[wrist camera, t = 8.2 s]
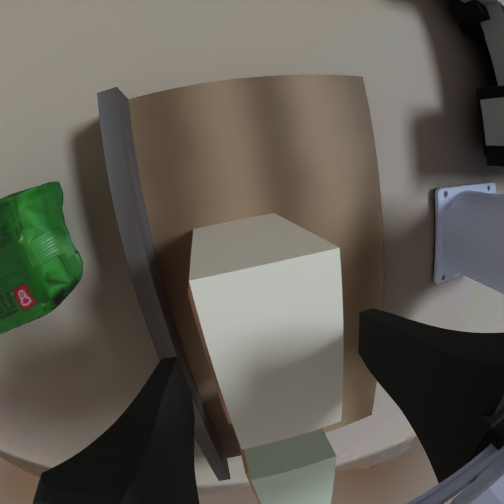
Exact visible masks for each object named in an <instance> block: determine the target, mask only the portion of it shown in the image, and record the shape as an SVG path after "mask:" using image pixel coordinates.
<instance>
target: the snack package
mask: <svg viewBox="0 0 504 504" xmlns="http://www.w3.org/2000/svg"><path fill="white" fill-rule="evenodd" d="M62 205H63V192H62V189H61V186H60V183H59V182H49V183H46V184H43V185H40V186H37V187H33V188H30V189H26V190H23V191H20V192H17V193H14V194H11V195H9V196H6V197H4V198H2V199H0V334H1V333H4V332H7V331H9V330H11V329H13V328H16V327H18V326H21V325H23V324H25V323H28V322H31V321H33V320H35V319H37V318H40V317H42V316H44V315H46V314H48V313H49V312H51V311H52V310H53V309H55V308H56V307H57V306H59V304H60V303H61V302H62V301H63V300H64V299H65V298H66V297H67V296H68V295H69V293H70V292H71V291H72V290H73V289H74V288H75V287H76V285H77V284H78V283H79V281H80V280H81V277H82V272H83V262H82V259H81V256H80V254H79V252H78V251H77V250H76V248H75V247H74V245H73V243H72V241H71V239H70V235H69V232H68V229H67V227H66V225H65V221H64V215H63V211H62Z"/></svg>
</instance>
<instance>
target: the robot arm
mask: <svg viewBox="0 0 504 504" xmlns="http://www.w3.org/2000/svg"><path fill="white" fill-rule="evenodd" d="M435 216H436V237H435V265H434V283H436V284H441V283H444V282H446V281H448V280H451V279H453V278H456V277H458V276H460V275H465V276H467V277H469V278H471V279H473V280H475V281H478V282H480V283H482V284H484V285H486V286H488V287H490V288H492V289H494V290H496V291H498V292H500V293H502V294H504V194H498V193H496V186H495V183H494V182H486V183H477V184H468V185H459V186H451V187H442V188H437V189H436V191H435ZM358 353H359V355H360V357H361V358H362V360H363V362H364V363H365V365H366V367H367V368H368V370H369V371H370V373H371V374H372V375H373V376H374V377H375V379H376V380H377V381H378V382H379V383H380V385H381V386H382V387H383V388H384V389H385V391H386V392H387V393H388V394H389V395H390V397H391V398H392V399H393V400H394V401H395V403H396V404H397V405H398V406H399V408H400V409H401V410H402V412H403V413H404V415H405V416H406V418H407V420H408V421H409V423H410V424H411V426H412V428H413V429H414V431H415V433H416V435H417V437H418V438H419V440H420V442H421V444H422V446H423V448H424V450H425V452H426V454H427V456H428V458H429V460H430V462H431V465H432V467H433V470H434V472H435V475H436V477H437V480H438V482H439V484H438V485H436V486H435V487H433V488H432V489H430V490H428V491H427V492H425V493H424V494H422V495H420V496H418V497H417V498H415V499H414V500H412V501H410V502H408V503H406V504H444V503H445V502H446V501H448V500H449V499H451V498H452V497H454V496H455V495H456V494H458V493H459V492H460V491H462V490H463V489H464V488H465V489H464V490H463V491H462V492H461V493H460V494H458V495H457V496H456V497H455V498H454V499H453V500H452V502H451V503H450V504H504V333H471V332H461V331H454V330H448V329H443V328H438V327H434V326H430V325H426V324H423V323H419V322H416V321H412V320H409V319H406V318H403V317H400V316H397V315H394V314H391V313H388V312H384V311H381V310H377V309H373V308H371V309H368V310H365V311H362V312H359V345H358ZM194 426H195V416H194V407H193V398H192V393H191V391H190V388H189V386H188V383H187V381H186V378H185V376H184V373H183V370H182V368H181V365H180V362H179V359H178V357H177V356H176V357H170V358H164V359H162V360H161V361H160V362H159V364H158V365H157V367H156V368H155V370H154V371H153V373H152V375H151V376H150V378H149V379H148V381H147V382H146V384H145V385H144V387H143V388H142V389H141V391H140V392H139V394H138V395H137V397H136V398H135V399H134V400H133V402H132V403H131V404H130V406H129V407H128V408H127V409H126V411H125V412H124V413H123V414H122V415H121V416H120V417H119V419H118V420H117V421H116V422H115V423H114V424H113V425H112V426H111V427H110V428H109V429H108V430H107V431H106V432H104V433H103V434H102V435H101V436H100V437H99V438H97V439H96V440H95V441H94V442H93V443H91V444H90V445H89V446H88V447H86V448H85V449H84V450H82V451H81V452H79V453H78V454H76V455H75V456H73V457H72V458H70V459H68V460H67V461H65V462H63V463H61V464H59V465H57V466H55V467H54V468H52V469H50V470H48V471H45V472H43V473H42V474H41V477H40V480H39V484H38V487H37V490H36V493H35V497H34V500H33V504H199V499H198V493H197V486H196V479H195V470H194ZM468 485H469V486H468ZM467 486H468V487H467ZM466 487H467V488H466Z"/></svg>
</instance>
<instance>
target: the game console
mask: <svg viewBox="0 0 504 504" xmlns="http://www.w3.org/2000/svg"><path fill="white" fill-rule="evenodd" d="M449 2H450V5H451V7H452V10H453V12H454V15H455V17H456V20H457V22H459V25H460V28H461V31H462V33H463V34H465V35H467V36H468V37H470V38H472V39H474V40H476V41H477V42H479V43H481V44H482V45H484V46H486V47H487V48H488V50H489V53H490V57H491V60H492V64H493V68H494V72H495V76H496V80H497V84H498V86H495V87H488V88H482V89H476V93H477V98H478V104H479V110H480V117H481V124H482V133H483V143H484V155H485V156H486V157H487V166H496V167H504V0H449Z"/></svg>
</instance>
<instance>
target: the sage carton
mask: <svg viewBox="0 0 504 504" xmlns="http://www.w3.org/2000/svg"><path fill="white" fill-rule="evenodd" d="M239 445H240V444H239ZM240 450H241V455H242V459H243V464H244V469H245V473H246V475H247V478H248V480H249V483H250V485H251V487H252V489H253V492H254V494H255V496H256V498H257V501H258V503H259V504H331V497H332V490H333V482H334V473H335V464H336V454H335V452H334V451H333V449H332V447H331V445H330V443H329V441H328V439H327V437H326V435H325V433H324V431H323V429H322V428H320V429H317V430H314V431H311V432H308V433H305V434H301V435H298V436H295V437H291V438H288V439H284V440H280V441H277V442H273V443H269V444H265V445H260V446H256V447H251V448H247V449H241V447H240Z"/></svg>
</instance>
